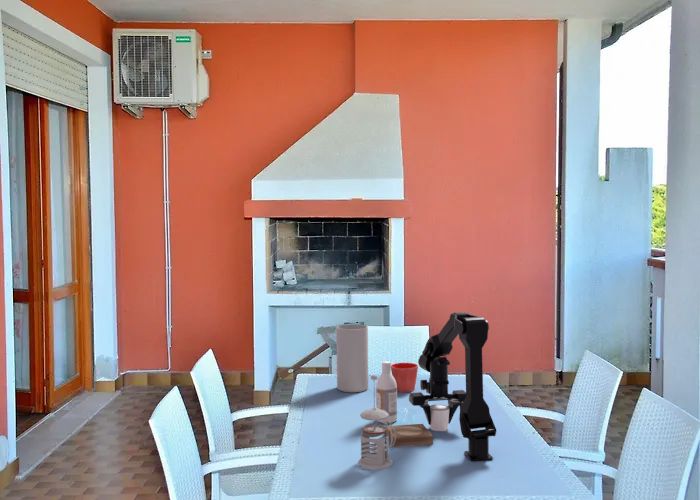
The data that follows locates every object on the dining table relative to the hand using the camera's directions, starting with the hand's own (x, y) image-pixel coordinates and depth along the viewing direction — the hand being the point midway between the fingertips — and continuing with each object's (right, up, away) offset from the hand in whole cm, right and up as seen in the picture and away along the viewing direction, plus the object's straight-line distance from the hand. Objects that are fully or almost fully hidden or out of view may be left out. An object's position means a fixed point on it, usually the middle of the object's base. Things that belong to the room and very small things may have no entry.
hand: (439, 423), depth 214 cm
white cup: (0, -2, 0) cm, 2 cm away
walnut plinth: (-11, -2, -10) cm, 14 cm away
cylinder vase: (-28, +1, +49) cm, 57 cm away
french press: (-21, -4, -29) cm, 36 cm away
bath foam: (-17, -1, +9) cm, 19 cm away
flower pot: (-7, +1, +47) cm, 48 cm away
